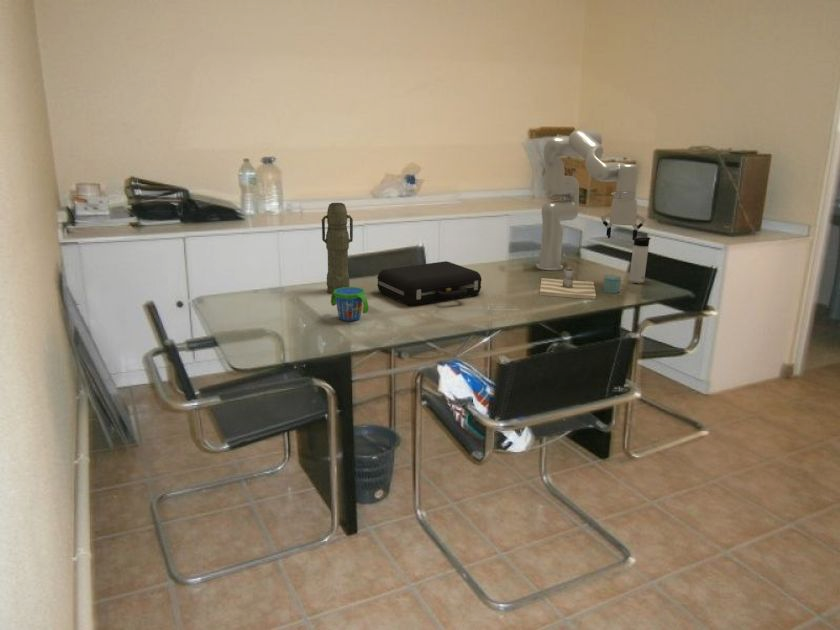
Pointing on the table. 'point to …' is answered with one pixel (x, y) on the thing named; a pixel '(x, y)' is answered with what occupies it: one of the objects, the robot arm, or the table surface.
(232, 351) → the table surface
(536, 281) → the table surface
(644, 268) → the travel mug
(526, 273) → the table surface
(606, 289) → the teal cube
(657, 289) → the table surface
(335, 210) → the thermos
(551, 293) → the post board
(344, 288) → the snack cup
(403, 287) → the briefcase
